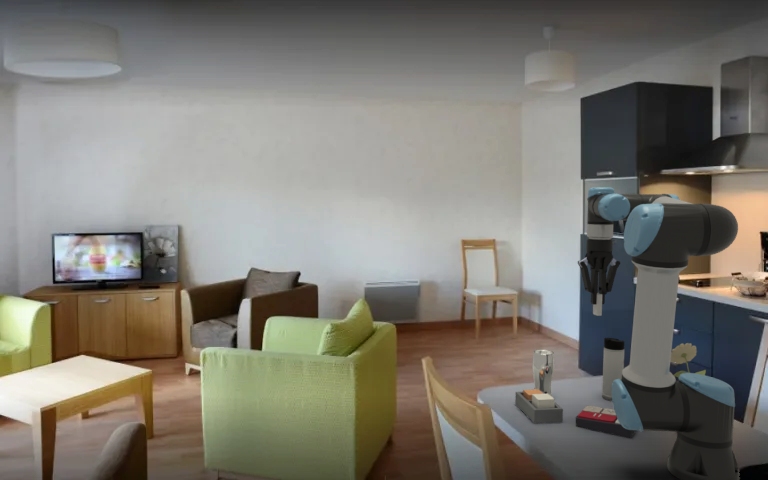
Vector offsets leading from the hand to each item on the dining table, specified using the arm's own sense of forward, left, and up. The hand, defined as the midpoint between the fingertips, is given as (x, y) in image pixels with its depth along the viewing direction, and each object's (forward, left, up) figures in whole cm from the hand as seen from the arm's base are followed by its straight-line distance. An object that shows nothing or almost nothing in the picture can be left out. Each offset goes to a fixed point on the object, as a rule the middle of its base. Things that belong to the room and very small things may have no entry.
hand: (597, 314), depth 185 cm
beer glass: (+12, +12, -30) cm, 34 cm away
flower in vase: (-20, -19, -30) cm, 40 cm away
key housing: (-2, +19, -29) cm, 35 cm away
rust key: (+2, +19, -28) cm, 34 cm away
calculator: (-14, +3, -30) cm, 33 cm away
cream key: (-6, +19, -27) cm, 34 cm away
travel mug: (+8, -10, -30) cm, 32 cm away
